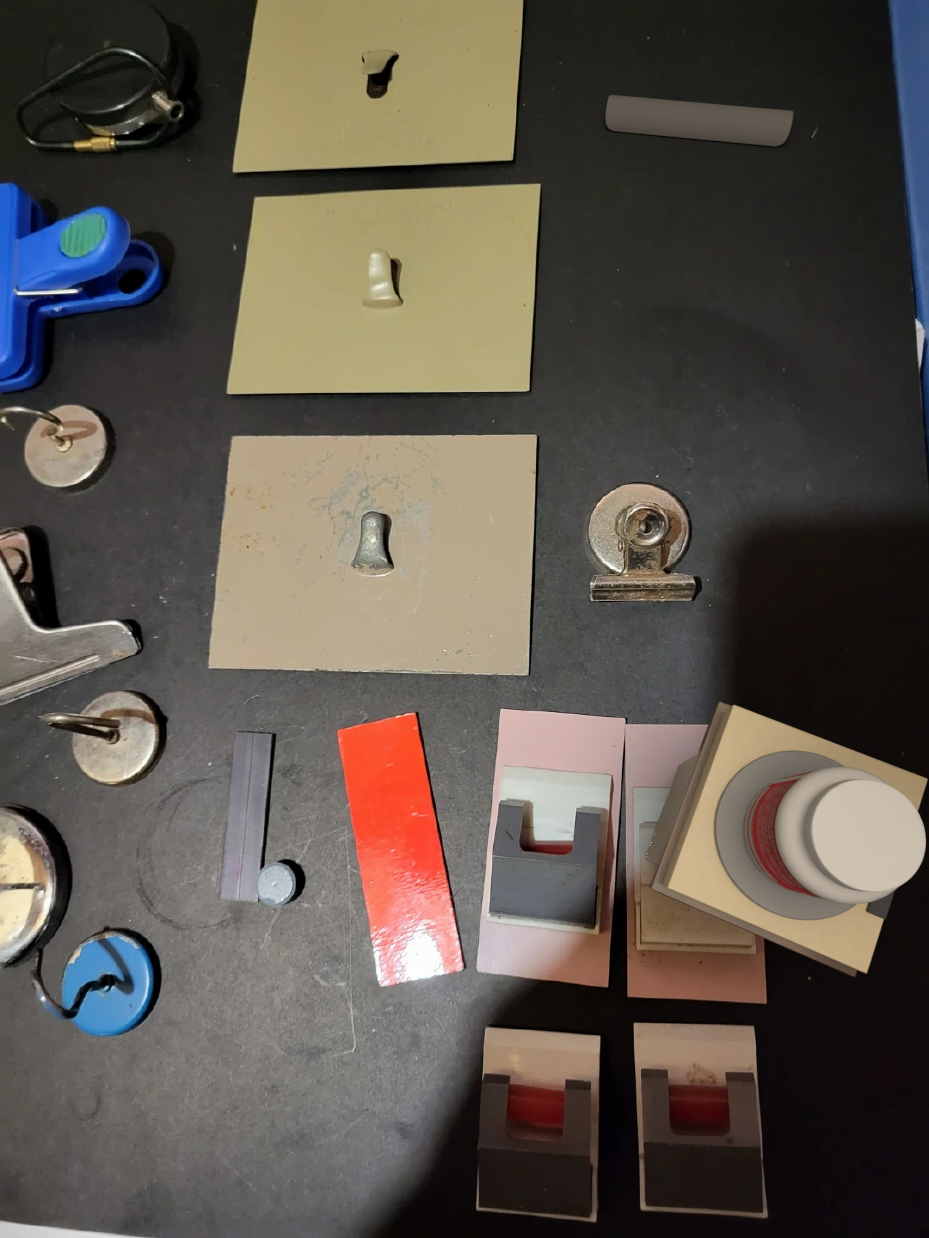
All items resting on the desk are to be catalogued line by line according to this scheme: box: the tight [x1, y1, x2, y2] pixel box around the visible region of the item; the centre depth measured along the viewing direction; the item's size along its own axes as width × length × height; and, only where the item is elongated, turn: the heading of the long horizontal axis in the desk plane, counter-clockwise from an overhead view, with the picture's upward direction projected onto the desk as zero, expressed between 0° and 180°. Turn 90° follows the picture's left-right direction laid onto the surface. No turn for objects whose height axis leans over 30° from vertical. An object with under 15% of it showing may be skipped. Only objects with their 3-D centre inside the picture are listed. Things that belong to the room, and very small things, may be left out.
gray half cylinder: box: [604, 94, 794, 147], centre depth 93 cm, size 4×20×2 cm, turn 78°
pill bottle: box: [744, 767, 927, 904], centre depth 42 cm, size 6×6×11 cm
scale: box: [662, 704, 928, 974], centre depth 49 cm, size 11×11×4 cm
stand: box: [644, 700, 858, 978], centre depth 64 cm, size 12×12×27 cm
